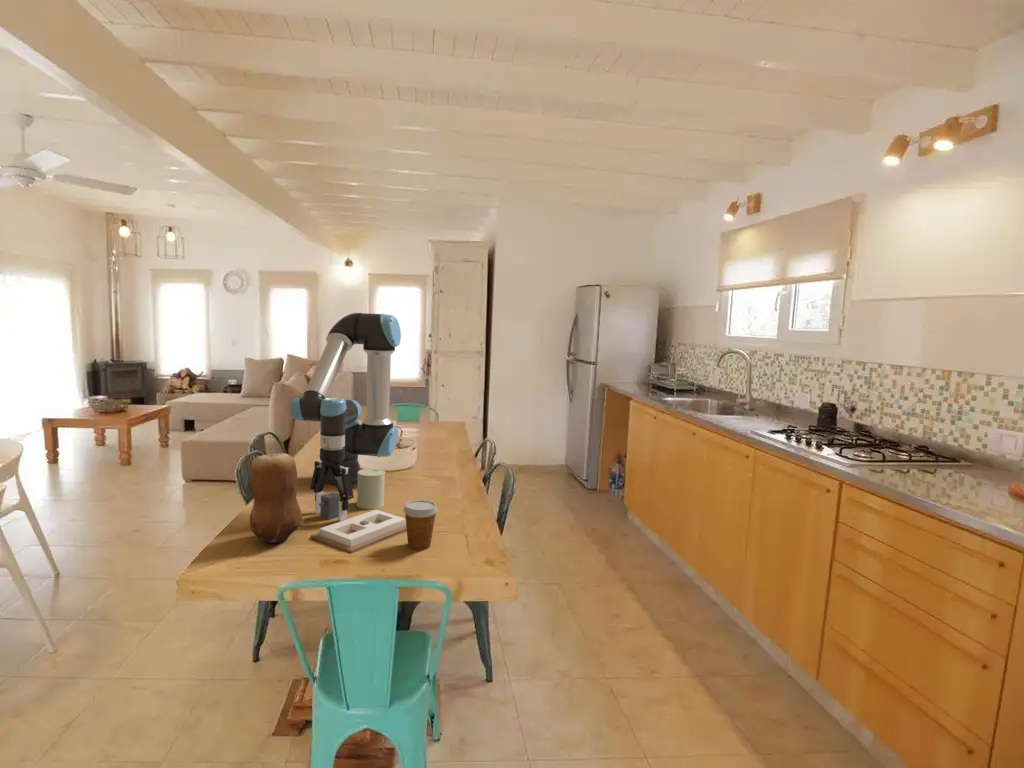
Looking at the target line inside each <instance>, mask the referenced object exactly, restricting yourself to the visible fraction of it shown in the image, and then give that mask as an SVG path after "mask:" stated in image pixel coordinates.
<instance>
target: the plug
mask: <svg viewBox="0 0 1024 768" xmlns="http://www.w3.org/2000/svg"><path fill="white" fill-rule="evenodd" d="M339 500H341V498H340V495H339V492H338V493H337V492H330V493H326V494H324V495H322V496H321V503H319V506H320V507H321V512H320V518H321V517H322V519H324V518H325V520H327V519H328V520H327V521H330V520H333V519H337V518H338V517H339Z"/></svg>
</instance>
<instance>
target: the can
mask: <svg viewBox="0 0 1024 768" xmlns="http://www.w3.org/2000/svg"><path fill="white" fill-rule="evenodd" d="M385 478H386V472H385V470H384V469H380V468H364V469H361V470H360V471H358V482H357V491H356V492H357V493H356V495H357V497H356V498H357V500H356V507H357V508H358V509H361V508H362V510H378V509H380V508H383V507H384V506H385V481H386V479H385ZM377 508H378V509H377Z"/></svg>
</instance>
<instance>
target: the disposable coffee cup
mask: <svg viewBox="0 0 1024 768" xmlns="http://www.w3.org/2000/svg"><path fill="white" fill-rule="evenodd" d="M403 512H404V515H405V517H404V518H405V519H406V528H407V531H406V535H407V536H406V537H407V538H406V539H407V547H408V548H409V549H410V550H416V551H422V550H423V551H424V550H427V549H430V547H431V543H432V539H433V532H434V525H435V519H436V515H437V512H438V507H437V504H436V502H434V501H430V500H424V499H423V500H422V499H421V500H420V499H417V500H412V501H407V502H406V503H405V506H404V508H403Z"/></svg>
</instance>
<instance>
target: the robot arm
mask: <svg viewBox="0 0 1024 768" xmlns="http://www.w3.org/2000/svg"><path fill="white" fill-rule="evenodd" d="M401 334H402V331H401V326H400V323H399V321H398V319H397V318H396V316H394V315H391V314H385V313H363V312H352V313H350V314H346V315H345V316H344V317H342V318H341V319H339V320H338V321H337V322H336V323H334V325H333V326H332V327H331V329H330V330H329V331H328V334H327V336H326V339H325V340H326V345H325V347H324V349H323V350H322V351H323V352H322V354H321V356H320V358H319V360H318V362H317V364H316V367H315V369H314V372H313V373H312V375H311V378H310V380H309V382H308V384H307V386H306V389H305V391H304V393H303V394H302V396H298V397H294V398H292V400H291V401H290V404H289V413H290V416H291V418H292V419H294V420H298V421H303V422H318V423H319V422H320V430H319V432H320V433H319V434H320V435H319V436H320V439H319V446H320V448H319V459H320V460H316V461H314V470H313V475H312V478H311V481H310V482H311V483H310V487H309V488H310V490H311V491H313V492H314V501H315V510H314V511H315V514H321V507H320V506H319V503H321V496H322V495H325V492H324V488H325V486H326V484H328V485H334V484H336V485H335V487H336V489H337V492H338V494H339V495H340V498H341V500H339V517H337V518H338V522H341V521H344V520H347V519H348V509H349V501H350V500H352V499H354V497H355V495H354V491H353V485H352V484H356V483H357V484H358V471H360V470H362V469H361V466H360V462H359V455H360V456H369V457H370V456H371V457H377V458H380V457H381V458H383V457H384V458H387V457H391V456H392V455H393V454H394V451H395V449H396V447H397V445H398V440H399V439H398V438H399V428H398V427H396V426H394V421H393V419H392V418H391V417H390V400H391V399H390V398H391V397H390V396H391V358H392V357H391V356H392V354H393V353H394V352H395V351H396V347H399V346H400V344H401V337H402V335H401ZM354 345H363V346H362V348H363V350H362V351H364V353H366V355H367V358H366V359H367V361H366V364H367V365H366V403H365V404H366V412H365V415H366V416H365V418H363V420H362V421H361V424H360V421H359V418H360V417H361V415H362V407H361V404H360V403H359V402H358V401H356V400H354V399H344V398H341V397H329V398H328V396H329V394H330V392H331V389H332V387H333V385H334V383H335V380H336V378H337V376H338V373H339V370H340V368H341V366H342V364H343V362H344V359H345V357H346V355H347V352H349V351H351V350H352V349H353V346H354Z"/></svg>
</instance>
